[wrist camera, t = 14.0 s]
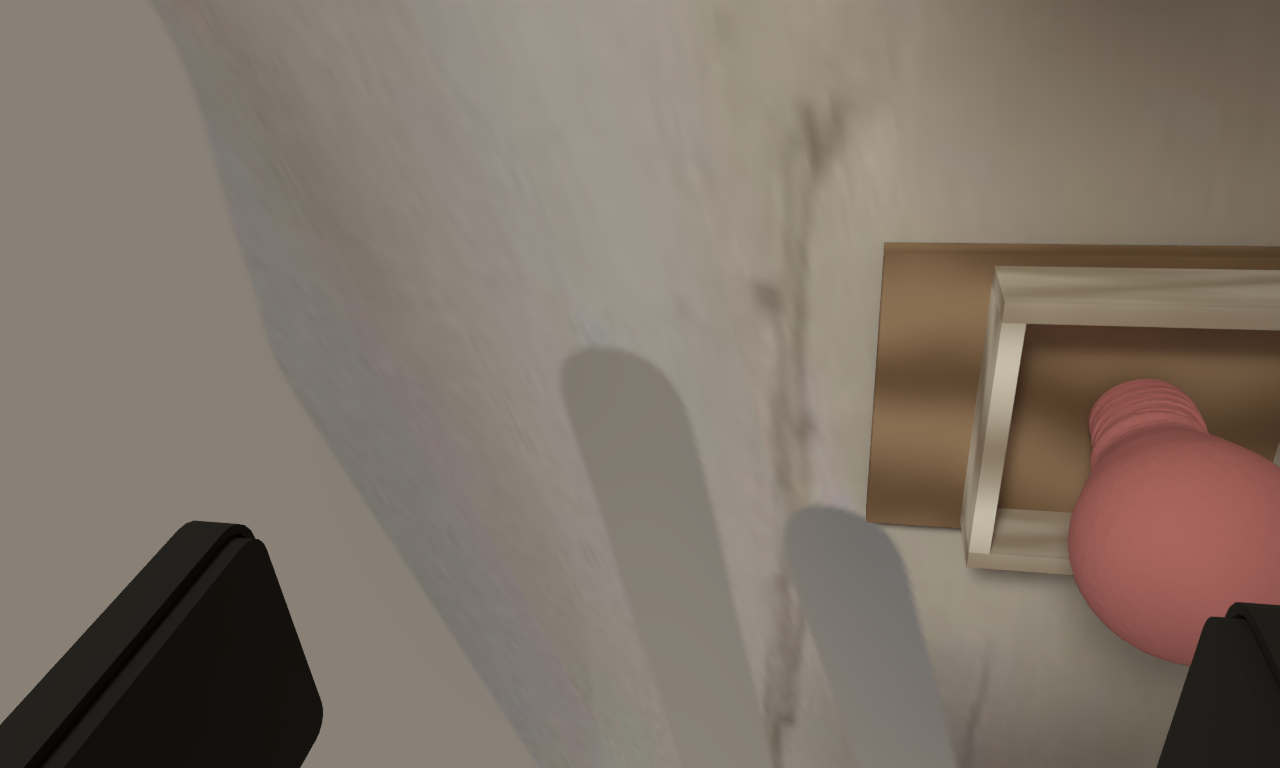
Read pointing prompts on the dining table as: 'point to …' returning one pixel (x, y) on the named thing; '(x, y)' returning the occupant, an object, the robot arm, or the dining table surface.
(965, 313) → the bulb holder
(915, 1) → the dining table surface
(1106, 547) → the light bulb
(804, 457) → the dining table surface
